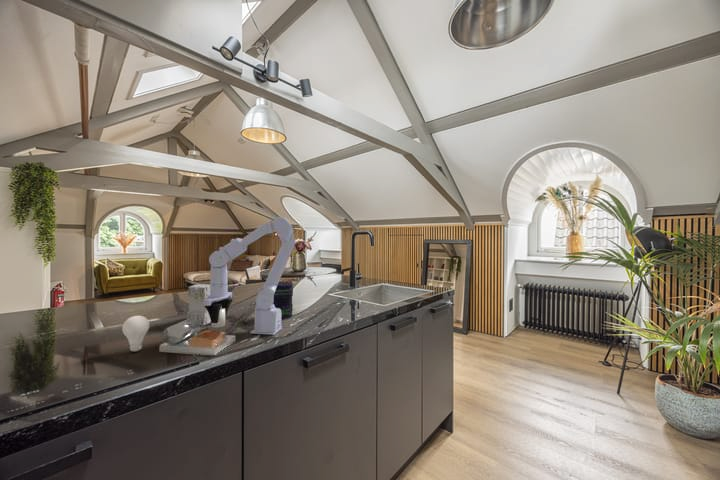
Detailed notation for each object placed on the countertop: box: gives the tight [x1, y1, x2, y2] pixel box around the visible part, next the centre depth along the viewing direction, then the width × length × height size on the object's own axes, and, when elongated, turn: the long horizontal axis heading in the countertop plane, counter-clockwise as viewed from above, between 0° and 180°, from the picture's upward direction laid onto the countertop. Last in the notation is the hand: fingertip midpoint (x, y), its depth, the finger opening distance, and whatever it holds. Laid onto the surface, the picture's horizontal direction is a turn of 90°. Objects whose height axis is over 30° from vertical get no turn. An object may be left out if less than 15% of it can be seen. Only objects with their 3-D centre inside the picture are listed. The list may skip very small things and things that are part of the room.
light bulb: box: [121, 315, 150, 353], centre depth 90 cm, size 7×7×11 cm
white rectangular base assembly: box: [158, 317, 237, 356], centre depth 95 cm, size 18×12×8 cm, turn 84°
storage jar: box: [273, 281, 294, 321], centre depth 131 cm, size 10×10×15 cm
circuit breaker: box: [186, 283, 211, 326], centre depth 124 cm, size 8×14×15 cm, turn 174°
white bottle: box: [211, 306, 226, 328], centre depth 107 cm, size 4×4×7 cm
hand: (218, 320), depth 107 cm, fingers closed on white bottle, 4 cm apart
